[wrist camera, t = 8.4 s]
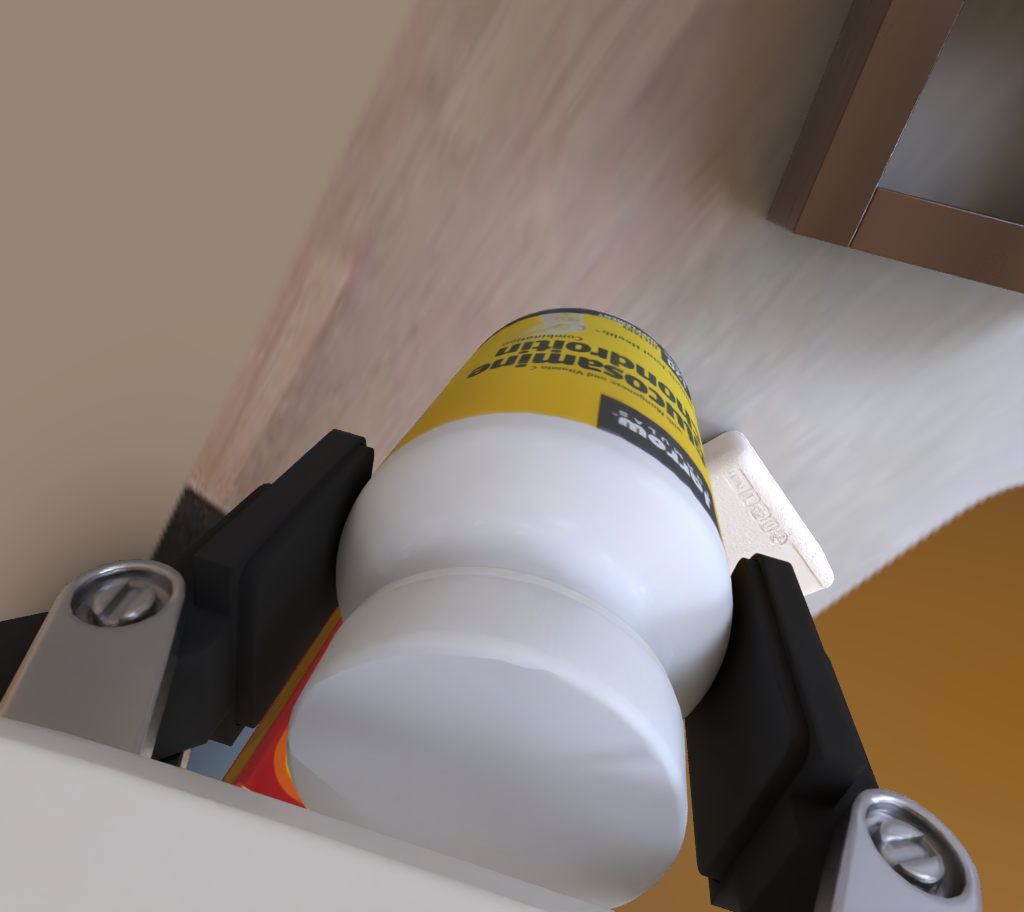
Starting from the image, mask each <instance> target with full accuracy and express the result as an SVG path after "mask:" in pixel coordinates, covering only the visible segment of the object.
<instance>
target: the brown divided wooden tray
mask: <svg viewBox="0 0 1024 912" xmlns="http://www.w3.org/2000/svg"><path fill="white" fill-rule="evenodd" d="M964 2H965V0H854V2H853V4H852V7H851V9H850V12H849V14H848V17H847V19H846V22H845V24H844V27H843V29H842V32H841V34H840V37H839V39H838V42H837V44H836V47H835V49H834V51H833V54H832V56H831V59H830V61H829V64H828V66H827V69H826V71H825V74H824V76H823V79H822V81H821V84H820V86H819V89H818V91H817V94H816V96H815V99H814V101H813V104H812V106H811V109H810V111H809V114H808V116H807V119H806V121H805V124H804V126H803V129H802V131H801V134H800V136H799V139H798V141H797V144H796V146H795V149H794V151H793V154H792V156H791V159H790V161H789V164H788V166H787V169H786V171H785V174H784V176H783V178H782V181H781V183H780V186H779V188H778V191H777V193H776V196H775V198H774V201H773V203H772V206H771V208H770V211H769V213H768V216H767V218H766V219H767V220H768V221H770V222H772V223H774V224H776V225H778V226H780V227H782V228H784V229H786V230H788V231H790V232H792V233H795V234H799V235H803V236H806V237H810V238H814V239H818V240H821V241H825V242H829V243H833V244H837V245H840V246H844V247H849V248H852V249H856V250H860V251H863V252H867V253H871V254H875V255H878V256H882V257H886V258H890V259H894V260H897V261H901V262H905V263H909V264H913V265H916V266H920V267H924V268H928V269H932V270H935V271H939V272H943V273H947V274H951V275H954V276H958V277H962V278H966V279H969V280H973V281H977V282H981V283H985V284H988V285H992V286H996V287H1000V288H1004V289H1007V290H1011V291H1015V292H1019V293H1023V294H1024V224H1020V223H1016V222H1012V221H1009V220H1005V219H1001V218H997V217H993V216H989V215H985V214H981V213H977V212H974V211H970V210H966V209H962V208H958V207H954V206H950V205H946V204H943V203H939V202H935V201H931V200H927V199H923V198H919V197H915V196H911V195H908V194H904V193H900V192H896V191H892V190H888V189H884V188H880V187H877V186H878V184H879V182H880V180H881V178H882V176H883V173H884V171H885V169H886V167H887V165H888V163H889V161H890V159H891V157H892V154H893V152H894V150H895V148H896V146H897V144H898V142H899V140H900V137H901V135H902V133H903V131H904V129H905V127H906V125H907V123H908V120H909V118H910V116H911V114H912V112H913V110H914V108H915V106H916V104H917V101H918V99H919V97H920V95H921V93H922V91H923V89H924V87H925V84H926V82H927V80H928V78H929V76H930V74H931V72H932V70H933V67H934V65H935V63H936V61H937V59H938V57H939V55H940V53H941V51H942V48H943V46H944V44H945V42H946V40H947V38H948V36H949V34H950V31H951V29H952V27H953V25H954V23H955V21H956V19H957V17H958V15H959V12H960V10H961V8H962V6H963V4H964Z"/></svg>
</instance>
